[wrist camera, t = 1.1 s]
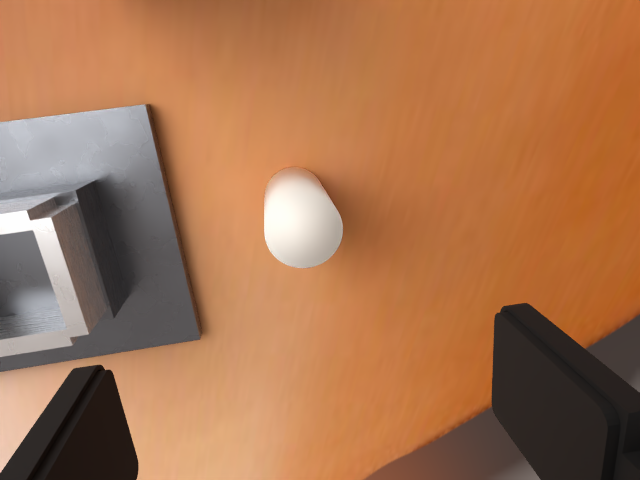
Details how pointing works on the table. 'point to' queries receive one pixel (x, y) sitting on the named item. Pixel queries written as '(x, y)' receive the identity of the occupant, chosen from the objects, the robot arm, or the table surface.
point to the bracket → (88, 240)
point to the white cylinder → (300, 219)
